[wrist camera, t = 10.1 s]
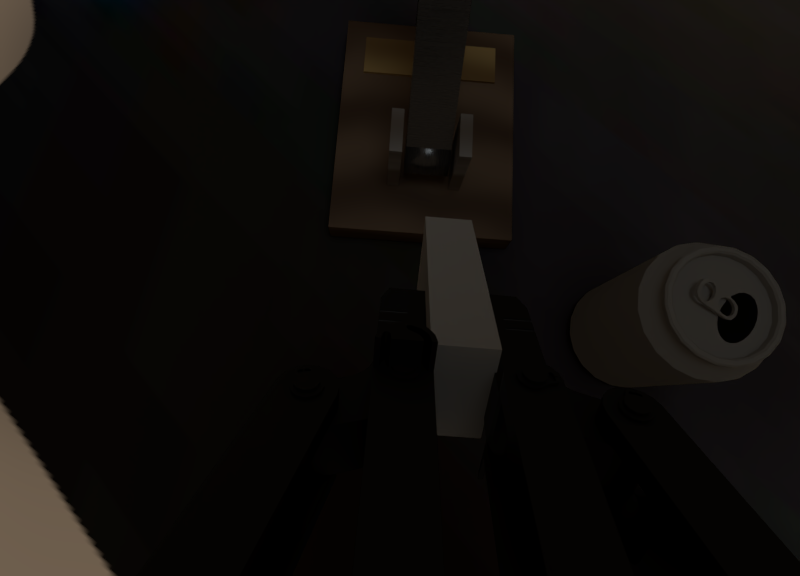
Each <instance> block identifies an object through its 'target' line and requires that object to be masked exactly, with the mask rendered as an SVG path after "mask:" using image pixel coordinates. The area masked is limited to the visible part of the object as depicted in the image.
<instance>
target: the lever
mask: <svg viewBox="0 0 800 576" xmlns="http://www.w3.org/2000/svg"><path fill="white" fill-rule="evenodd" d="M471 3H472V0H418V6H417V18H416V29H415V41H414V53H413V65H412V77H411V88H410V100H409V112H408V124H407V135H406V146H405V159H404V173H411V174H424V175H436V176H447V175H448V172H449V167H450V159H451V149H452V141H453V134H454V127H455V119H456V112H457V105H458V97H459V90H460V83H461V76H462V68H463V61H464V54H465V46H466V39H467V32H468V24H469V17H470V10H471Z"/></svg>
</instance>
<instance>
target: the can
mask: <svg viewBox="0 0 800 576" xmlns="http://www.w3.org/2000/svg"><path fill="white" fill-rule="evenodd" d="M785 326H786V304H785V301H784V298H783V295H782V293H781V290H780V287H779V285H778V283H777V282H776V281H775V279H774V278H773V276H772V275H771V273H770V272H769V270H768V269H767V268H766V267H764V266H763V265H762V264H761V263H760V262H759V261H757V260H756V259H755V258H754V257H753V256H751V255H749V254H746V253H744V252H742V251H740V250H738V249H736V248H732V247H725V246H719V245H711V244H705V243H699V242H695V243H688V244H682V245H676V246H674V247H673V248H671V249H669V250H667V251H665V252H663V253H661V254H659V255H657V256H655V257H653V258H651V259H650V260H648V261H646V262H644V263H642V264H640V265H638V266H636V267H634V268H632V269H630V270H629V271H627V272H625V273H623V274H621V275H619V276H617V277H615V278H613V279H611V280H609V281H608V282H606V283H604V284H602V285H600V286H598V287H596V288H594V289H592V290H590V291H589V292H587V293H586V294H585V295H584V296H583V297H582V298H581V300H580V301H579V302H578V303H577V304H576V307H575V309H574V312H573V314H572V316H571V323H570V337H571V341H572V346H573V350H574V352H575V354H576V355H577V357H578V359H579V360H580V362H581V364H582V365H583V366H584V367H585V368H586V369H587V370H588V371H589V372H590V373H591V374H592V375H593V376H594V377H595V378H597V379H599V380H601V381H603V382H605V383H607V384H609V385H613V386H620V387H626V388H631V387H647V386H663V385H680V384H696V383H713V382H722V381H727V380H733V379H739V378H741V377H742V376H744V375H746V374H747V373H749V372H751V371H752V370H754V369H756V368H757V367H758V366H759V365H760V363H761V362H762V361H763V359H765V358H766V357H768V356H770V355H771V353H772V352H773V351H774V349H775V348H776V347H777V346H778V344H779V343H780V342H781V339H782V336H783V333H784V330H785Z"/></svg>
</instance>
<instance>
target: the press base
mask: <svg viewBox="0 0 800 576" xmlns="http://www.w3.org/2000/svg"><path fill="white" fill-rule="evenodd" d="M415 29H416V27H415V26H403V25H392V24H381V23H370V22H358V21H349V25H348V35H347V45H346V55H345V65H344V75H343V85H342V95H341V105H340V115H339V125H338V135H337V145H336V155H335V165H334V175H333V185H332V195H331V205H330V215H329V225H328V227H329V231H330V235H331V236H337V237H351V238H364V239H378V240H391V241H405V242H418V243H422V241H423V233H424V224H425V216H427V217H439V218H451V219H463V220H472V224H473V228H474V232H475V236H476V241H477V245H478V247H485V248H499V249H505V248H506V247H507V246H508V244H509V243H510V242H511V241H512V174H513V85H514V35H505V34H493V33H482V32H471V31H468V32H467V39H466V46H465V54H464V61H463V68H462V76H461V83H460V90H459V97H458V105H457V112H456V119H455V127H454V134H453V141H452V149H451V159H450V167H449V172H448V175H447V176H436V175H424V174H411V173H404V159H405V146H406V135H407V124H408V112H409V100H410V88H411V77H412V65H413V53H414V41H415Z"/></svg>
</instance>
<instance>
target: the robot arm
mask: <svg viewBox="0 0 800 576" xmlns="http://www.w3.org/2000/svg"><path fill="white" fill-rule="evenodd" d="M484 423H485V430H486V436H487V440H486V444H485V448H484V452H483V456H482V460H481V464H480V468H479V474H478V479H483V476H484V472H486V479H487V486H488V493H489V500H490V507H491V515H492V522H493V529H494V536H495V543H496V550H497V557H498V564H499V572H500V576H800V562H799V561H798V560H797V558H796V557H795V556H794V555H793V554H792V553H791V552H790V551H789V549H788V548H787V547H786V546H785V545H784V544H783V543H782V541H781V540H780V539H779V538H778V537H777V536H776V535H775V534H774V532H773V531H772V530H771V529H770V528H769V527H768V526H767V524H766V523H765V522H764V521H763V520H762V519H761V518H760V516H759V515H758V514H757V513H756V512H755V511H754V510H753V509H752V507H751V506H750V505H749V504H748V503H747V502H746V501H745V499H744V498H743V497H742V496H741V495H740V494H739V493H738V491H737V490H736V489H735V488H734V487H733V486H732V485H731V484H730V482H729V481H728V480H727V479H726V478H725V477H724V476H723V474H722V473H721V472H720V471H719V470H718V469H717V468H716V467H715V465H714V464H713V463H712V462H711V461H710V460H709V459H708V457H707V456H706V455H705V454H704V453H703V452H702V451H701V449H700V448H699V447H698V446H697V445H696V444H695V443H694V442H693V440H692V439H691V438H690V437H689V436H688V435H687V434H686V432H685V431H684V430H683V429H682V428H681V427H680V426H679V424H678V423H677V422H676V421H675V420H674V419H673V418H672V417H671V415H670V414H669V413H668V412H667V411H666V410H665V409H664V407H663V406H662V405H660V404H659V403H658V402H657V401H656V400H655V399H654V398H652V397H650V396H648V395H646V394H645V393H643V392H641V391H637V390H634V389H631V388H621V387H617V388H613V389H610V390H608V391H607V392H606V393H605V394H604V395H603V397H602V399H597V398H594V397H591V396H587V395H584V394H581V393H578V392H576V391H573V390H570V389H569V388H567V387H565V384H564V381H563V380H562V378H561V377H560V375H559V374H558V373H557V372H556V371H555V370H554V369H552V368H551V367H550V366H547V365H546V363H545V360H544V358H543V355H542V352H541V349H540V346H539V343H538V340H537V337H536V334H535V332H534V328H533V325H532V322H531V319H530V316H529V313H528V310H527V308H526V307H525V306H524V305H523V304H522V303H521V302H520V301H519V300H518V299H517V298H516V297H511V296H499V295H489V292H488V287H487V283H486V279H485V275H484V270H483V266H482V262H481V258H480V253H479V249H478V245H477V241H476V236H475V232H474V228H473V224H472V220H463V219H451V218H439V217H427V216H425V224H424V233H423V241H422V250H421V259H420V267H419V276H418V285H417V290H408V289H396V288H389V289H388V290H387V291H386V293H385V294H384V295H383V296H382V297H381V303H380V312H379V322H378V332H377V334H376V336H375V347H374V361H373V362H372V364H371V365H370V366H369V367H368V368H367V369H366V370H364V371H363V372H361V373H358V374H356V375H353V376H349V377H344V378H338V379H337V377H336V376H335V375H334V374H333V373H332V372H331V371H330V370H328V369H325V368H323V367H320V366H314V365H303V366H297V367H294V368H292V369H289V370H287V371H285V372H284V373H283V374H282V375H281V376H280V377H278V378H277V380H276V381H275V382H274V384H273V385H272V387H271V388H270V389H269V391H268V392H267V394H266V395H265V396H264V398H263V399H262V401H261V402H260V403H259V405H258V406H257V408H256V409H255V410H254V412H253V413H252V415H251V416H250V417H249V419H248V420H247V422H246V423H245V424H244V426H243V427H242V429H241V430H240V431H239V433H238V434H237V436H236V437H235V439H234V440H233V441H232V443H231V444H230V446H229V447H228V448H227V450H226V451H225V453H224V454H223V455H222V457H221V458H220V460H219V461H218V462H217V464H216V465H215V467H214V468H213V469H212V471H211V472H210V474H209V475H208V476H207V478H206V479H205V481H204V482H203V483H202V485H201V486H200V488H199V489H198V490H197V492H196V493H195V495H194V496H193V497H192V499H191V500H190V502H189V503H188V504H187V506H186V507H185V509H184V510H183V511H182V513H181V514H180V516H179V517H178V518H177V520H176V521H175V523H174V524H173V525H172V527H171V528H170V530H169V531H168V532H167V534H166V535H165V537H164V538H163V539H162V541H161V542H160V544H159V545H158V547H157V548H156V549H155V551H154V552H153V554H152V555H151V556H150V558H149V559H148V561H147V562H146V563H145V565H144V566H143V568H142V569H141V570H140V572H139V573H138V575H137V576H292V574H293V572H294V570H295V568H296V565H297V563H298V561H299V559H300V556H301V554H302V552H303V550H304V548H305V545H306V543H307V541H308V539H309V536H310V534H311V532H312V530H313V527H314V525H315V523H316V521H317V519H318V516H319V514H320V512H321V510H322V507H323V505H324V503H325V501H326V498H327V496H328V494H329V492H330V490H331V487H332V485H333V483H334V481H335V478H336V474H337V473H341V472H345V471H350V470H354V469H359V468H363V473H362V483H361V493H360V503H359V513H358V523H357V533H356V543H355V553H354V563H353V573H352V576H445V575H444V556H443V537H442V519H441V500H440V481H439V462H438V444H437V435H440V436H454V437H468V438H481V436H482V431H483V427H484ZM638 484H639V485H638ZM639 486H640V487H641V488H640V487H639ZM641 489H642V490H643V491H642V490H641Z"/></svg>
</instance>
